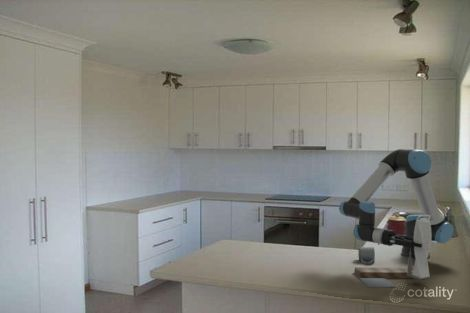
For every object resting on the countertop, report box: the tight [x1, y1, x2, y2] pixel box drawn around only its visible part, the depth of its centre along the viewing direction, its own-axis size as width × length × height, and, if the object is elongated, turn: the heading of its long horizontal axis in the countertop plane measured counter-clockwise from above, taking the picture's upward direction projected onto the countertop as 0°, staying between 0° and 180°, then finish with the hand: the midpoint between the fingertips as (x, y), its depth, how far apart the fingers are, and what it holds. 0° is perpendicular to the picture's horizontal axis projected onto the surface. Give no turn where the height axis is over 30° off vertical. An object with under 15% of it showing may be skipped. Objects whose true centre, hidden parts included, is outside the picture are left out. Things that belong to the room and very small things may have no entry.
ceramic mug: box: [357, 246, 376, 265], centre depth 241 cm, size 11×8×8 cm
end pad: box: [358, 277, 396, 288], centre depth 204 cm, size 12×12×1 cm
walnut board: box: [354, 267, 414, 279], centre depth 217 cm, size 32×8×3 cm, turn 94°
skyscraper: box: [406, 214, 432, 280], centre depth 205 cm, size 8×8×28 cm
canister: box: [385, 213, 406, 236], centre depth 296 cm, size 13×13×18 cm
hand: (432, 245), depth 201 cm, fingers closed on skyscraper, 6 cm apart
